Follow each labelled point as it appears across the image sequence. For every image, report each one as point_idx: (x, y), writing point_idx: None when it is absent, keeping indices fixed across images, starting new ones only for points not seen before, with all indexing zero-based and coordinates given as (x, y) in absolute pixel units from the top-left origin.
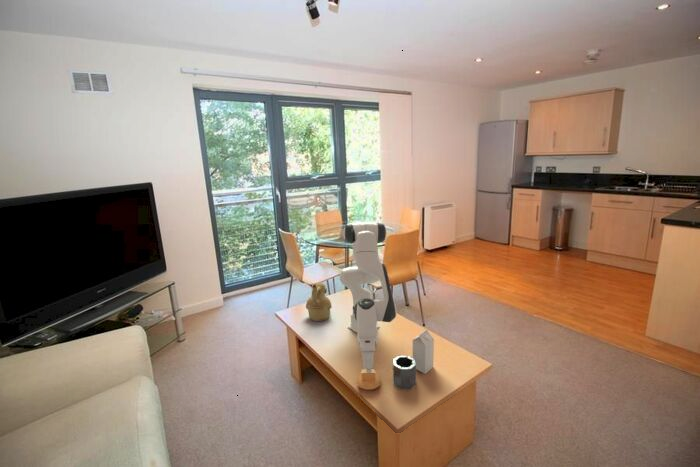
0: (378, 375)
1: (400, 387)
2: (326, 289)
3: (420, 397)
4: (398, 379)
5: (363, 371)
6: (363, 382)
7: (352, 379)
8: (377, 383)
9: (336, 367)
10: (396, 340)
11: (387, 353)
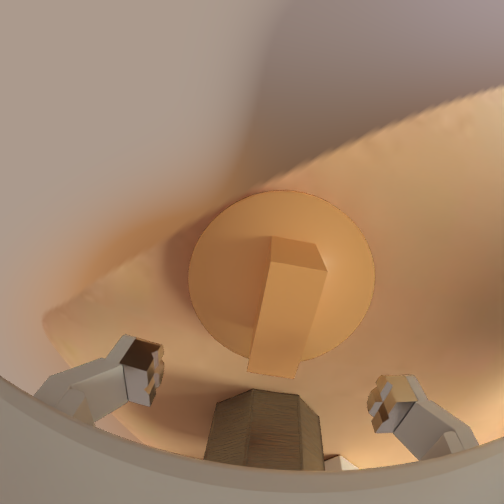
0: (303, 356)
1: (218, 407)
2: None
3: (168, 433)
4: (222, 433)
5: (290, 284)
6: (249, 244)
7: (359, 170)
8: (223, 335)
9: (475, 101)
10: (497, 410)
11: (467, 386)
